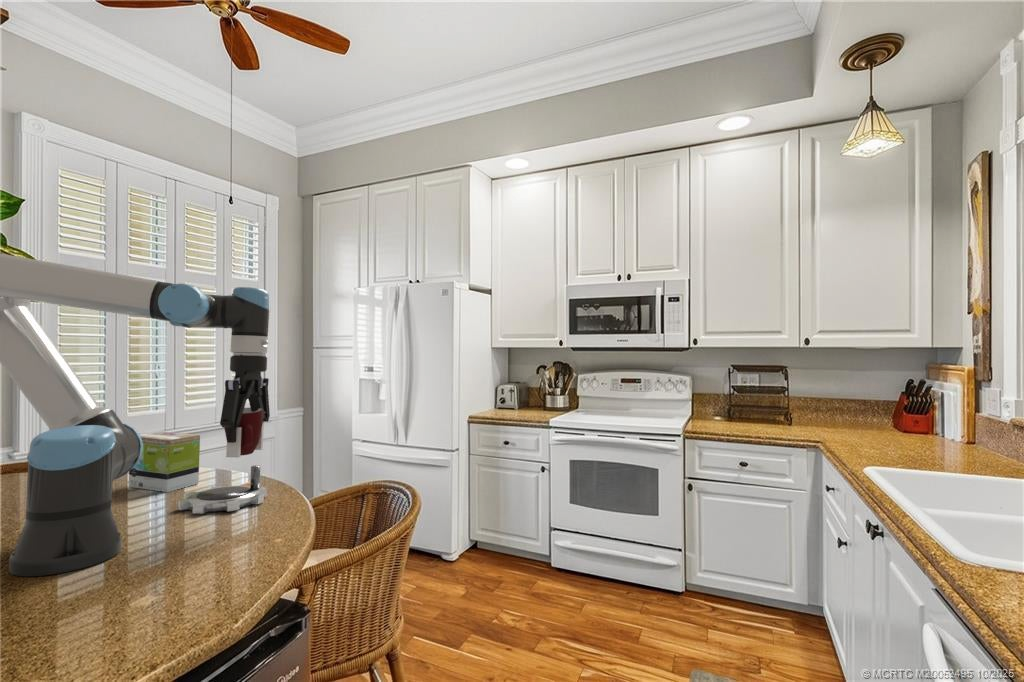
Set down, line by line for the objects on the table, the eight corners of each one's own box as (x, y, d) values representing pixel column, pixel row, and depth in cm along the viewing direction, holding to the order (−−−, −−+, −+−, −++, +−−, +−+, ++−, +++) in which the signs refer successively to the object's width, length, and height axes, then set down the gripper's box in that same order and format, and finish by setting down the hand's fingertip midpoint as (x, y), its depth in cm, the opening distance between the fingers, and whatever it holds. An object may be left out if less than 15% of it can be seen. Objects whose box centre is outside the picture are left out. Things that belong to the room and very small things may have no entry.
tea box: (126, 488, 136) (128, 435, 137) (161, 480, 146) (163, 430, 146) (166, 493, 132) (168, 438, 133) (200, 484, 142) (201, 433, 142)
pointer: (250, 492, 134) (250, 483, 134) (245, 492, 134) (246, 483, 134) (253, 490, 135) (253, 481, 135) (249, 490, 135) (249, 481, 135)
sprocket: (175, 518, 110) (177, 483, 110) (180, 497, 126) (181, 466, 127) (270, 506, 120) (271, 473, 120) (263, 488, 137) (264, 459, 137)
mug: (272, 455, 111) (272, 412, 111) (233, 462, 105) (233, 416, 105) (255, 447, 118) (255, 406, 118) (218, 453, 112) (218, 410, 112)
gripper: (238, 354, 102) (233, 463, 101) (287, 355, 123) (284, 445, 122) (202, 353, 102) (198, 462, 101) (258, 355, 123) (254, 444, 122)
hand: (245, 453), depth 112 cm, fingers closed on mug, 8 cm apart
